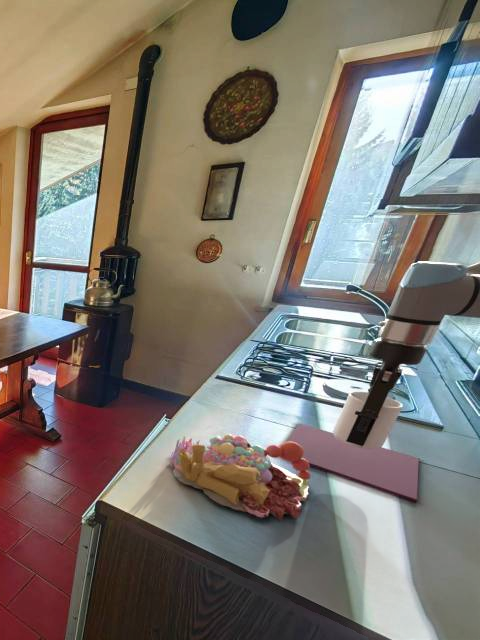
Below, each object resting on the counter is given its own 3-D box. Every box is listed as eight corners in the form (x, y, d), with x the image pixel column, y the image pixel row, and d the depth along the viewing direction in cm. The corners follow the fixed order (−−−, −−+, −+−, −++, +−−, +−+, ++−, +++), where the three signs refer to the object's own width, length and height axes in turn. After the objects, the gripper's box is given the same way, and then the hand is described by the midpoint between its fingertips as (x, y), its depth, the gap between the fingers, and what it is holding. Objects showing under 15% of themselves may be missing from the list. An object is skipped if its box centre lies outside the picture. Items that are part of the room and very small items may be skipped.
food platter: (296, 541, 65) (316, 497, 62) (153, 480, 80) (163, 442, 77) (311, 478, 82) (327, 440, 79) (190, 437, 97) (200, 404, 94)
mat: (417, 460, 89) (419, 458, 89) (415, 502, 75) (417, 499, 75) (298, 425, 104) (299, 423, 104) (278, 454, 90) (279, 452, 90)
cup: (330, 440, 86) (348, 398, 82) (333, 422, 94) (350, 383, 91) (382, 454, 81) (404, 411, 77) (381, 434, 89) (401, 394, 85)
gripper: (380, 328, 89) (343, 412, 98) (370, 348, 74) (327, 445, 82) (428, 335, 84) (384, 423, 92) (429, 358, 69) (376, 460, 77)
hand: (357, 433), depth 87 cm, fingers closed on cup, 12 cm apart
